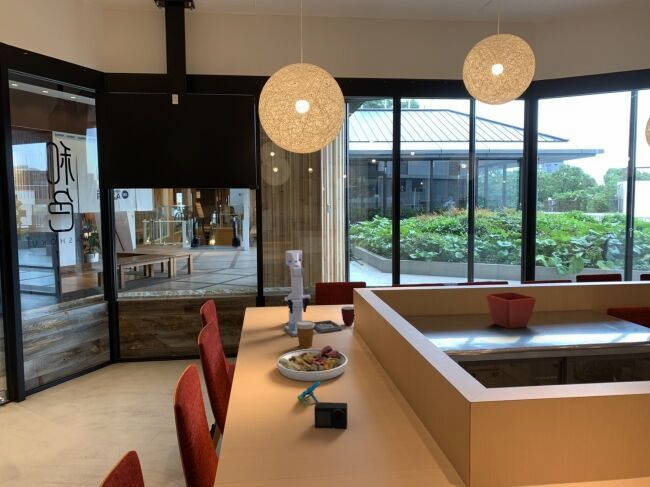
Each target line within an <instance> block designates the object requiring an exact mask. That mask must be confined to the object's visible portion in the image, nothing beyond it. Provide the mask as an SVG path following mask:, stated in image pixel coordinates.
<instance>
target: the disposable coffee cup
mask: <svg viewBox="0 0 650 487" xmlns="http://www.w3.org/2000/svg"><path fill="white" fill-rule="evenodd" d="M314 322H315V321H312V320H303V321H298V322H297V323H296V328H297V333H298V336H297V339H298V340H297V341H298V344H299V348H301V349H310V348H312V347H313V338H314V334H313V331H314V330H315V328H314V326H315V324H314Z"/></svg>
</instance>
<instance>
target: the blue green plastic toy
mask: <svg viewBox="0 0 650 487" xmlns="http://www.w3.org/2000/svg"><path fill="white" fill-rule="evenodd" d="M320 385H321V381H316V382H314V383H313V384H312V385H311V386H309V387H306V390H303V392H302V393H301V394H299V395H298V396H297V400H298V401H301V403H303V404H304V406H305V407H309V405H308V403H307V402H306V400H307V399H309V398H310V397H311V398H312V400H314V402H315V403H316V402H319V400H318V398H317V397H316V396H315V395H314V394H315V393H314V391H315V390H316V389H317V388H318V387H319V386H320Z"/></svg>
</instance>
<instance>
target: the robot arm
mask: <svg viewBox="0 0 650 487" xmlns="http://www.w3.org/2000/svg"><path fill="white" fill-rule="evenodd" d="M285 263H286V266H288V267H289V270H290V282H291V283H290V284H291V292H290V293H289V294H288V295H287V296H284V301H285V302H286V304H287V309H288V320H287V322H286V323H288V324H289V322H294V323H295V325H296V323H297V322H298V321H304V320H303V312H304V313H306V311H307V307H308V305H309V302H310V299H311V298H312V297H311V294H304V290H303V288H304V286H303V283H304V282H303V277H304V267H303V266H302V263H303V250H302V249H296V250H286V251H285Z"/></svg>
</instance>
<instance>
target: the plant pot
mask: <svg viewBox="0 0 650 487" xmlns="http://www.w3.org/2000/svg"><path fill="white" fill-rule="evenodd" d="M536 299H537V298H536V297H534V296H530V295H526V294H522V293H518V292H514V291H513V292H498V293H487V294H486V300H487V306H488V310H489V312H490V313H489V314H490V317H491V319H492V322H493V324H494V325H497V326H500V327H503V328H506V329H517V328H525V327H527V326H528V324H529V323H530V322H529V321H530V319H531V317H532V314H533V311H534V308H535V304H536Z"/></svg>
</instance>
